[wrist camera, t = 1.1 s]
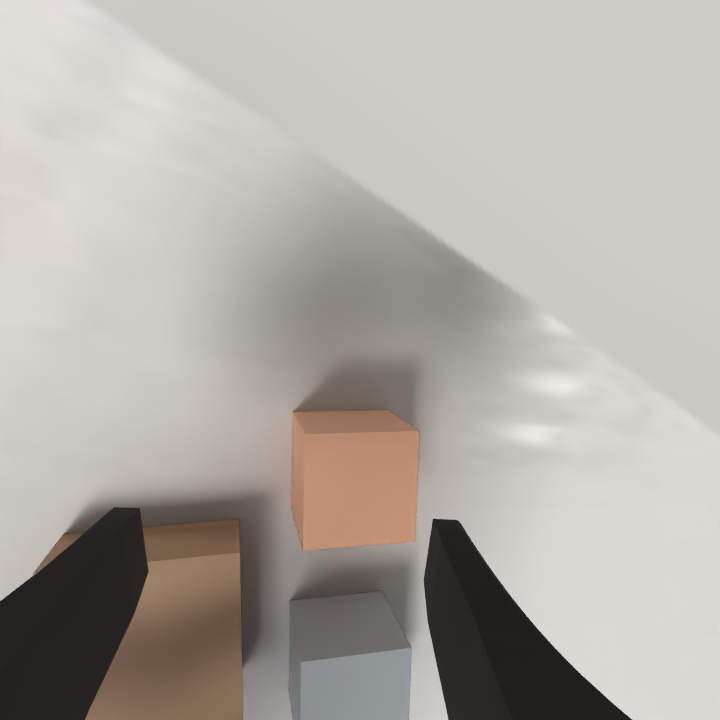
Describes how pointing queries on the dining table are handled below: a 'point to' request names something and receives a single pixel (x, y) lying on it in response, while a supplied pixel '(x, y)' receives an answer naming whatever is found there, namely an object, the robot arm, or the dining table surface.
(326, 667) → the slate grey block
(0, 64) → the dining table surface
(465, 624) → the robot arm
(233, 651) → the walnut base block
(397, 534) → the terracotta block
